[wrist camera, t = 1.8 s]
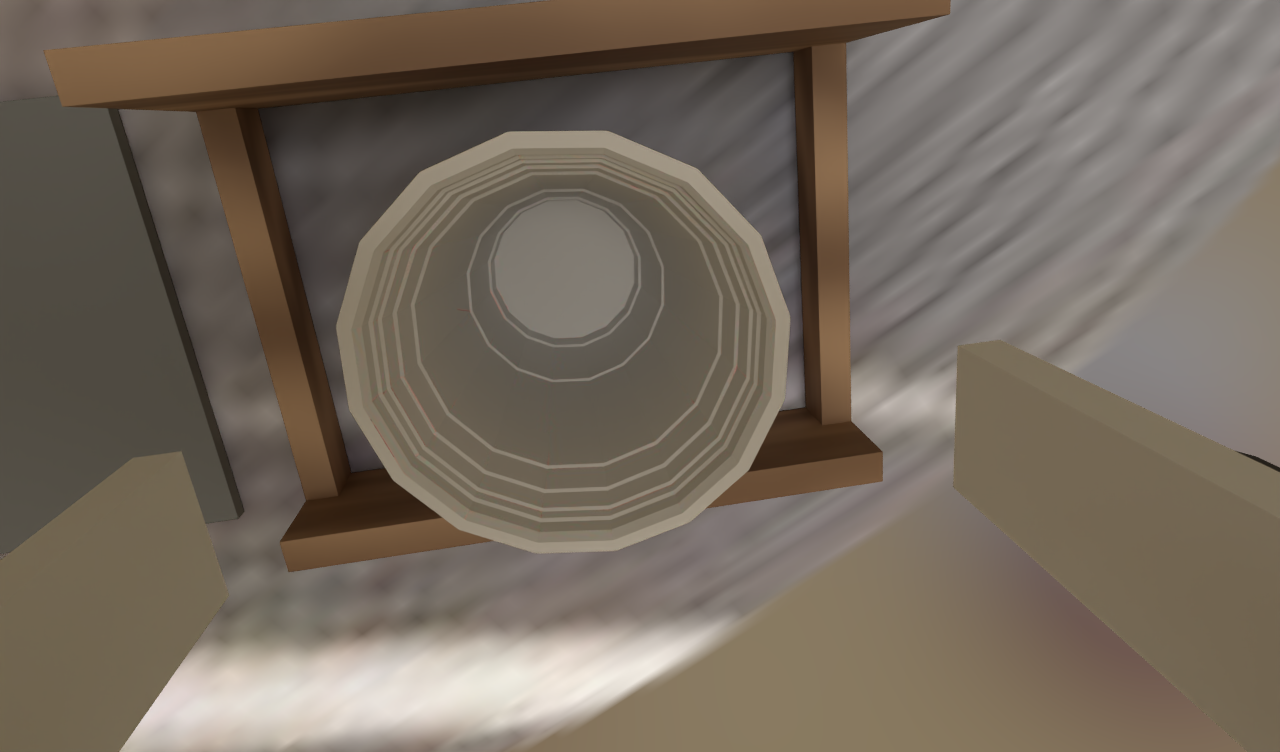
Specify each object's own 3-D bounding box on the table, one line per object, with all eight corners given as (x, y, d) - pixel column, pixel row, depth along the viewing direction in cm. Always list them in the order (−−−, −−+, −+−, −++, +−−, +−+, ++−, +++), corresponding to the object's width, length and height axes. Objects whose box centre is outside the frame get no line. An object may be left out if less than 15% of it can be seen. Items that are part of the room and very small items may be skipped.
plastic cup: (353, 239, 28) (219, 319, 16) (593, 62, 27) (626, 17, 15) (532, 454, 31) (523, 642, 20) (749, 304, 30) (870, 413, 19)
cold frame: (211, 75, 25) (43, 50, 17) (824, 12, 27) (951, -40, 19) (328, 503, 31) (245, 647, 22) (833, 429, 32) (935, 537, 24)
